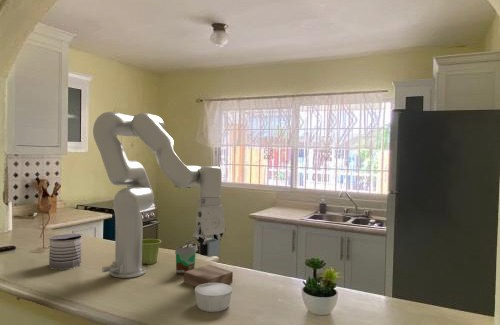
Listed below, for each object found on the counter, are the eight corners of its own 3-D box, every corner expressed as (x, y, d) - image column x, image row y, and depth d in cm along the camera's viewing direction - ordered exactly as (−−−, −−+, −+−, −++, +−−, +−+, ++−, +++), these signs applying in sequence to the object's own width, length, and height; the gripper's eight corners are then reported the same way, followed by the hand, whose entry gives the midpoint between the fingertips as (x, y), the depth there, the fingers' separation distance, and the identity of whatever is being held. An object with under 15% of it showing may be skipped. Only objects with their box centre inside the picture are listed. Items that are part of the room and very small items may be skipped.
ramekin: (213, 296, 119) (213, 279, 119) (239, 305, 112) (240, 288, 112) (186, 306, 110) (186, 288, 110) (213, 317, 103) (213, 298, 103)
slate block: (209, 257, 128) (209, 242, 127) (199, 254, 131) (199, 240, 131) (219, 254, 131) (220, 240, 131) (209, 251, 135) (210, 237, 135)
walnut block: (207, 292, 123) (207, 280, 123) (183, 283, 131) (184, 271, 131) (232, 283, 132) (232, 271, 132) (208, 275, 140) (209, 264, 140)
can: (57, 272, 138) (58, 239, 138) (43, 265, 145) (43, 234, 145) (87, 265, 147) (87, 234, 147) (72, 259, 154) (72, 230, 154)
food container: (190, 277, 136) (191, 249, 136) (174, 275, 137) (175, 248, 137) (201, 267, 148) (202, 242, 148) (186, 265, 149) (187, 240, 149)
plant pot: (133, 261, 154) (133, 240, 153) (155, 258, 159) (155, 237, 159) (142, 267, 146) (142, 245, 146) (164, 263, 152) (165, 242, 152)
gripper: (199, 205, 122) (198, 260, 122) (234, 200, 135) (234, 250, 135) (184, 202, 127) (183, 256, 127) (219, 198, 140) (219, 247, 140)
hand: (209, 253), depth 131 cm, fingers closed on slate block, 5 cm apart
